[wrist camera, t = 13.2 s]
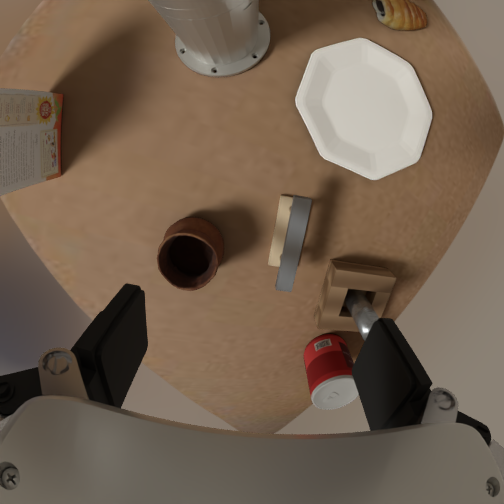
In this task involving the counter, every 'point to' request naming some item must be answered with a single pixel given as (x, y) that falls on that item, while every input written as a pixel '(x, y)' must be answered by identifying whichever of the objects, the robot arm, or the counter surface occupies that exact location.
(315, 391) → the canned food
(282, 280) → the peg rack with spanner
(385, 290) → the block with square hole
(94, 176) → the counter surface
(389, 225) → the counter surface
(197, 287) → the ceramic pot
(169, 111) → the counter surface
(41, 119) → the cracker box
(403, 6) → the pastry
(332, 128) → the plate
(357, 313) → the pin
